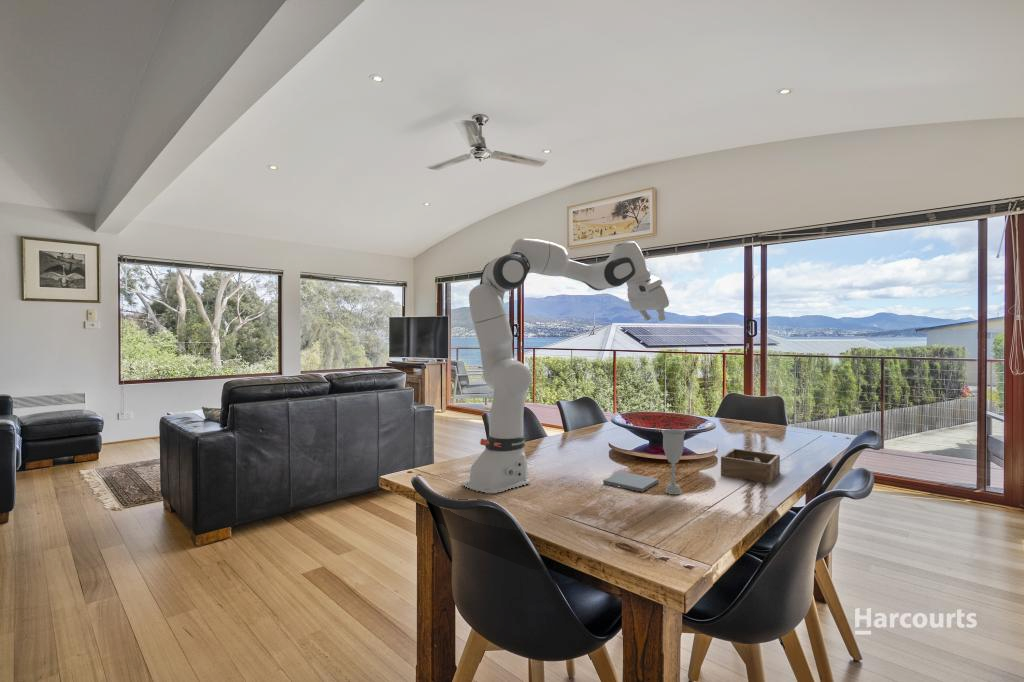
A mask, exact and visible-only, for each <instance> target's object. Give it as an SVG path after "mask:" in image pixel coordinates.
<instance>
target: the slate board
mask: <svg viewBox="0 0 1024 682" xmlns="http://www.w3.org/2000/svg"><path fill="white" fill-rule="evenodd" d="M602 483H604V484H603V485H606V484H609V485H608V486H611V485H614V486H613V487H615V486H620V487H624V488H628V489H633V490H637V491H642V492H641V493H644V492H645V491H644V490H646V489H647V490H649V489H650V488H649V487H651V486H652V487H654V486H655V484H656V485H657V484H659V483H660V482H659V478H655V477H650V476H647V475H642V474H636V473H632V472H631V473H630V472H626V471H621V470H620V471H619V472H617V473H615V474H613V475H610V476H608V477H607V478H604V479H603V480H602ZM653 485H654V486H653ZM652 487H651V488H652ZM624 488H623V489H624ZM648 488H649V489H648ZM628 489H627V490H628ZM633 490H632V491H633ZM647 490H646V491H647ZM637 491H636V492H637ZM643 491H644V492H643Z"/></svg>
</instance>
